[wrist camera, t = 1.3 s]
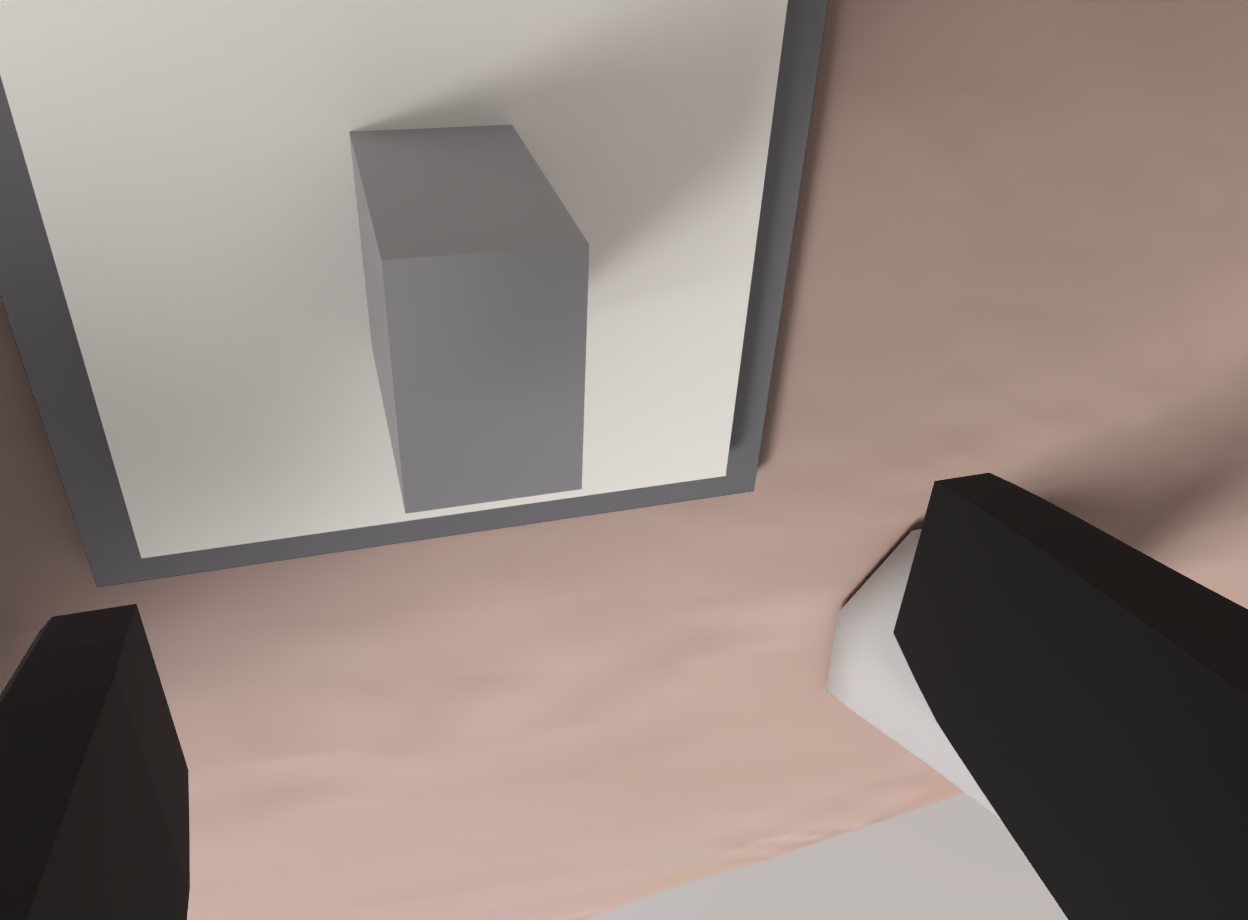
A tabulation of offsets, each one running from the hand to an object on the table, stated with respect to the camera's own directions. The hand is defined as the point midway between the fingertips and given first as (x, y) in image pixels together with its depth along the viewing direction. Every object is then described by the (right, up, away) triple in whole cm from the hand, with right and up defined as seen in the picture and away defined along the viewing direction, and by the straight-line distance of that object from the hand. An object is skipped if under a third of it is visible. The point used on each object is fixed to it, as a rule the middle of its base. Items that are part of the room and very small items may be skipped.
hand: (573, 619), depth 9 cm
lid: (-3, +5, +7) cm, 9 cm away
